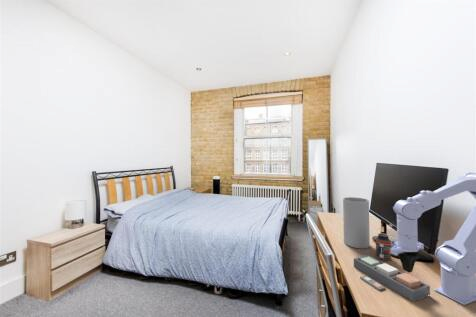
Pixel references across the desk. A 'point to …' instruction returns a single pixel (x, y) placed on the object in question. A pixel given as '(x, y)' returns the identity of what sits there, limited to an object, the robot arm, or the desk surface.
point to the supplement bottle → (383, 247)
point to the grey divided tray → (392, 281)
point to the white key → (387, 269)
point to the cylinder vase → (356, 222)
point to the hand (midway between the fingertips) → (407, 270)
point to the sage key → (369, 261)
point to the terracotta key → (408, 281)
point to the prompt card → (372, 283)
